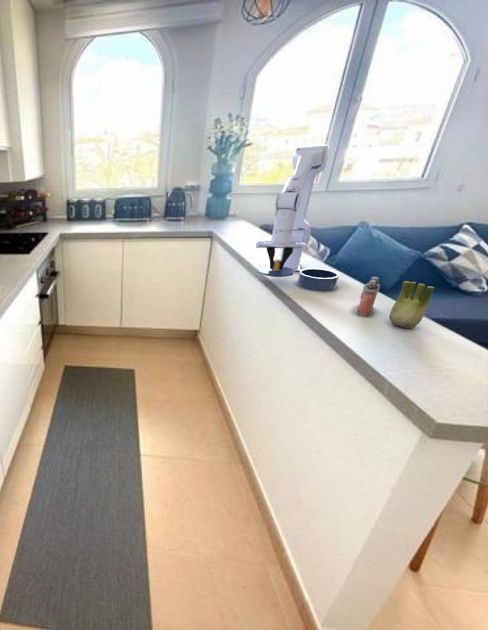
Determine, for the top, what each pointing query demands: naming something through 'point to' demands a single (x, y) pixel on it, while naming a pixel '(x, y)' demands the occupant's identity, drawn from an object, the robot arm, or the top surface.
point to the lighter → (368, 297)
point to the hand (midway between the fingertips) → (275, 268)
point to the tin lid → (275, 270)
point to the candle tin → (318, 279)
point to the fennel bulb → (410, 305)
